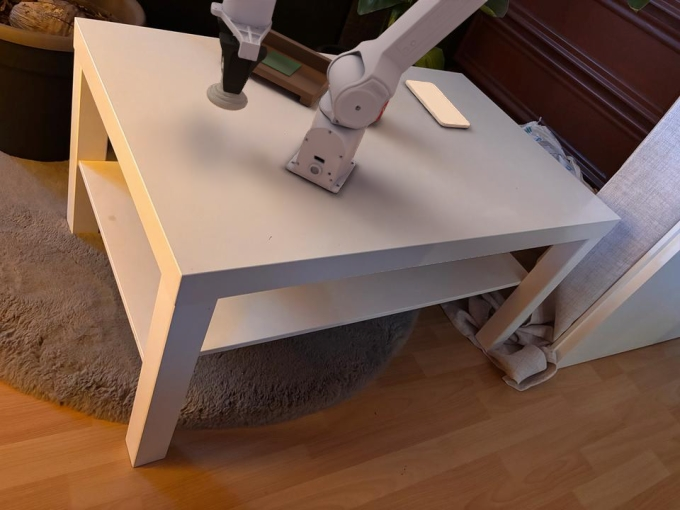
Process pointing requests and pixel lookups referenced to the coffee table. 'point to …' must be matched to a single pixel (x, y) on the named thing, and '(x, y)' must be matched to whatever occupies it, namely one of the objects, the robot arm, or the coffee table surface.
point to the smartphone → (437, 104)
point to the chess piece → (226, 97)
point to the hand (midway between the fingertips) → (230, 83)
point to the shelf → (294, 67)
